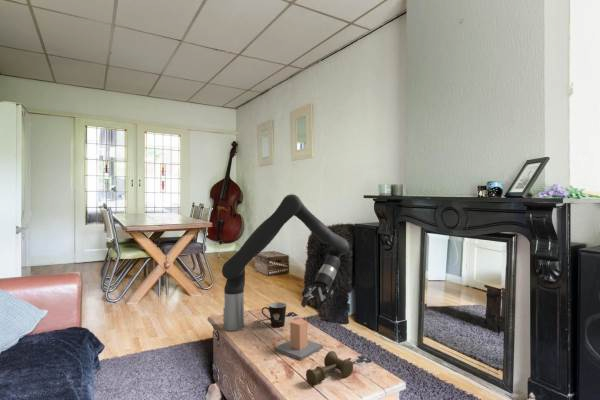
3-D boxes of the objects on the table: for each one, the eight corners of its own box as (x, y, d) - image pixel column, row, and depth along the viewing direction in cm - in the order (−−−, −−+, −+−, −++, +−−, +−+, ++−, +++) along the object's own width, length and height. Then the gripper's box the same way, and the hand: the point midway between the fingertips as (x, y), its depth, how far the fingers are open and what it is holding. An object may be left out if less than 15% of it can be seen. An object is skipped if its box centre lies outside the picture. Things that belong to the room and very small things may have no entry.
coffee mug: (290, 324, 167) (289, 304, 167) (279, 329, 160) (279, 308, 160) (271, 320, 173) (271, 300, 173) (260, 325, 166) (260, 305, 166)
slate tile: (274, 350, 138) (274, 347, 138) (297, 339, 148) (297, 336, 148) (301, 360, 129) (301, 357, 129) (322, 347, 139) (322, 345, 139)
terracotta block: (290, 346, 138) (290, 322, 138) (298, 342, 142) (297, 318, 142) (299, 349, 135) (299, 324, 135) (307, 345, 139) (307, 321, 139)
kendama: (300, 380, 115) (341, 361, 128) (319, 393, 108) (361, 371, 120) (300, 363, 115) (341, 345, 128) (319, 375, 107) (360, 355, 120)
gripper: (309, 270, 156) (293, 300, 147) (335, 273, 147) (319, 306, 138) (316, 279, 160) (301, 309, 151) (342, 283, 151) (327, 316, 142)
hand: (310, 308), depth 144 cm, fingers open, 8 cm apart
